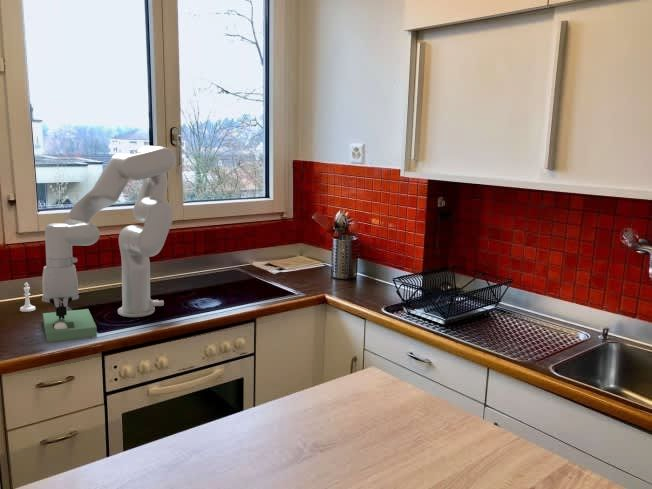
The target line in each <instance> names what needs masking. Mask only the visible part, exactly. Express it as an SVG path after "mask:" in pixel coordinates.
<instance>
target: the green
mask: <svg viewBox="0 0 652 489" xmlns="http://www.w3.org/2000/svg"><path fill="white" fill-rule="evenodd" d="M66 311H67V315H64V317H65V319H63V318H62V316H61V319H59V317H58V316H56V311H54V312H45V313H43V312H42V323H43V327H44V333H45V337H46V341H47V343H51V342H52V343H54V342H61V341H68V340H75V339H77V340H78V339H84V338H86V339H87V338H94V337H98V331H97V330H98V329H97V328H98V327H97V325H96V322H95V321H94V318H93V316H92V314H91V312H90V310H89V308H84V309H74V310H66ZM59 322H62V323H65V324H66V325H67V328H66V329H57V330H54V329H53V328H54V326H55V324H57V323H59Z"/></svg>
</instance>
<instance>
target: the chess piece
mask: <svg viewBox="0 0 652 489" xmlns="http://www.w3.org/2000/svg"><path fill="white" fill-rule="evenodd" d="M23 285H24V286H25V287H23V291H24V294H23V296H25V298H24V299H25V300H24V305H22V306H20V308H19V311H20V312H23V313H24V312H32V311H33V312H34V311H35V310H36V309H37V308H36V306H35V305H32V304H31V302H30V295H31V293H30V289H31V287H30V283H28V282H27V281H26V282H25V283H24V284H23Z"/></svg>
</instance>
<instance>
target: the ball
mask: <svg viewBox="0 0 652 489" xmlns="http://www.w3.org/2000/svg"><path fill="white" fill-rule="evenodd" d="M66 328H67V325H66V324H65V323H62V322H59V323H57V324H55V326H54V328H53V329H54V330H57V329H66Z"/></svg>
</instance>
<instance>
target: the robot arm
mask: <svg viewBox="0 0 652 489" xmlns="http://www.w3.org/2000/svg"><path fill="white" fill-rule="evenodd" d="M176 163H177V158H176V154H175V153H174V151H173V150H172V149H170V148H169V147H166V146H156V145H144V146H141V147H139V149H137V151H136V153H123V152H121V153H116V154H113V155H112V156H111V158H110V159H109V161H108V163H106V165H105V167H104V169H103V171H102V172H101V174H100V176H99V177H98V179H97V181H96V182H95V183H94V185H93V187H92V189H91V190H90V191H88V192H87V193H86V194H85V195H83V197H82V198H80V199H79V200H78V201H77V202H76V203H75V204H74V205H73V207H72V208H71V209H70V211H69V212H68V214H67V216H66V218H65V220H64V221H63V222H53V223H49V224H47V225H46V226H45V229H44V235H45V236H44V238H45V261H46V265H45V266H43V268H42V269H43V270H42V277H41V278H42V282H41V283H42V284H41V285H42V287H41V289H42V291H41V292H42V298H41V301H42V302H43V303H44V302H45V303H50V304H52V305H53V306H54V307H55V312H56V316H58V317H59V319H61V316H62V318H63V319H65V317H64V315H67V311H68V310H67V306H68V305H69V304H70V303H71V302H72V301H75V300H76V301H77V300H78V299H80V295H79V284H78V283H79V282H78V274H77V268H76V265H75V264H74V263H77V262H78V257H74V256H73V246H83V247H84V246H86V247H87V246H92V245H94V244H95V243H97V242H98V241H99V239H100V236H101V234H100V233H101V232H100V229H99V228H98V226H96V225H95V224H94V223H91V220H92V218H93V217H94V216H95V215H96V214H98V213H99V212H100V211H101V210H103V209H106V208H108V207H111V206H112V205H114V204H116V203H117V202H118V200H119V199H120V197H121V195H122V193H123V192H124V189H125V188H126V186H127V185H128V183H129V182H130V180H131V181H142V183H141V184H142V185H141V188H140V190H139V193H138V196H137V199H136V201H135V204H134V206H133V209H132V215H133V217H134V219H135V220H136V221H137V222H140V223H143V224H144V225H143V226H141V225H138V224H130V225H127V226H125V227H123V228H122V229H121V231H120V232H119V236H118V246H119V251H120V256H121V257H120V258H121V298H122V299H121V300H122V303H121V304H122V305H121V307H119V308H117V314H118V315H120V316H122V317H127V318H142V317H146V316H150V315H152V314H154V313H155V311H156V309H155V307H162V306H165V305H164V304H165V302H164V300H163V299H161V300H159V299H152V298H151V262H150V261H151V260H150V257H151V258H152V257H155V256H156V255H158V254H159V253H160V252H161V251H162V249H163V247H164V245H165V243H166V240H167V237H168V234H169V231H170V229H171V226H172V224H173V220H174V209H173V207H172V205H171V203H170V202H168V201H167V200H165V197H166V194H167V191H168V184H169V183H168V182H169V181H168V177H167V173H168V172H170V171H172V169H173V168H174V167H175V166H176ZM59 299H62V303H61V304H60V302H59Z"/></svg>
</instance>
